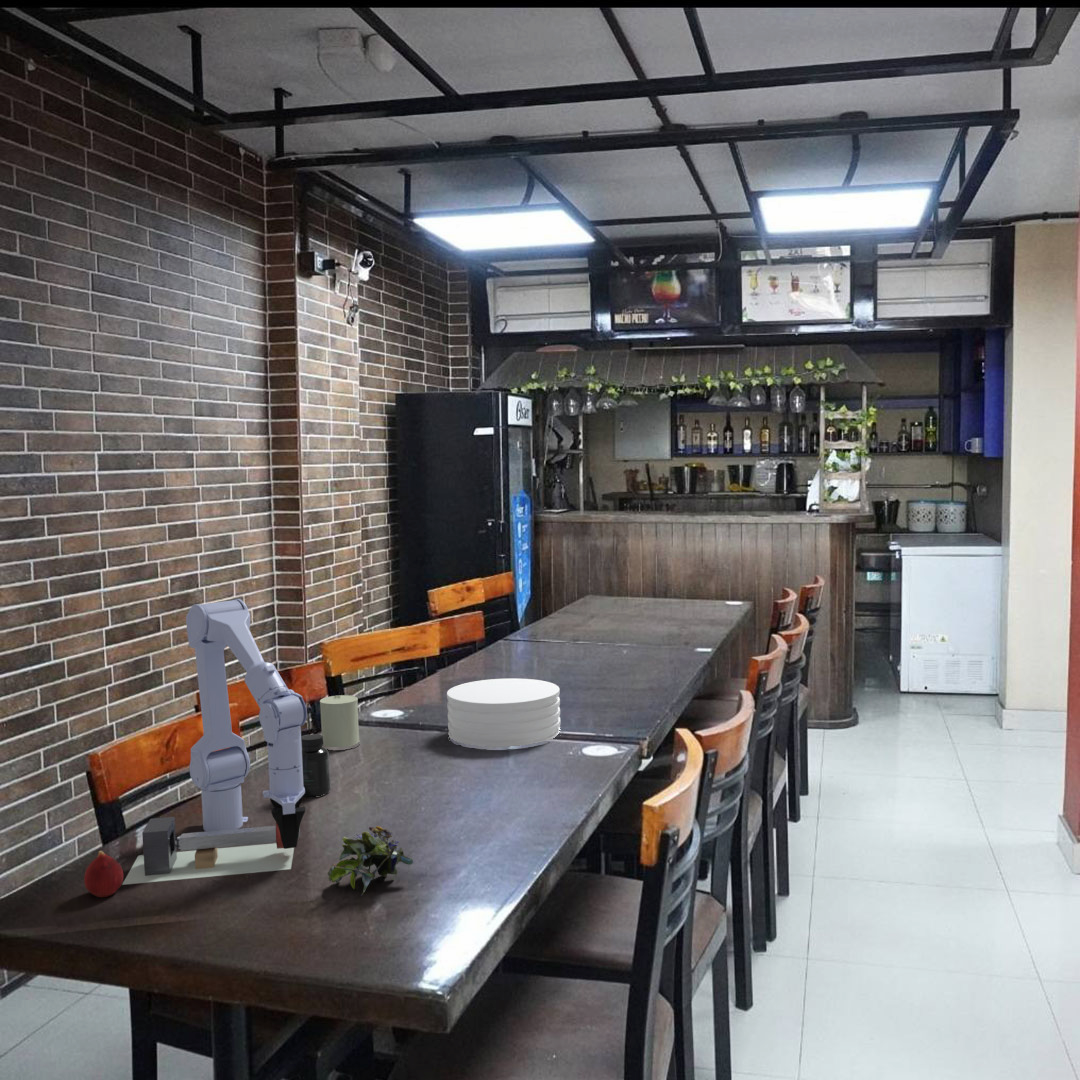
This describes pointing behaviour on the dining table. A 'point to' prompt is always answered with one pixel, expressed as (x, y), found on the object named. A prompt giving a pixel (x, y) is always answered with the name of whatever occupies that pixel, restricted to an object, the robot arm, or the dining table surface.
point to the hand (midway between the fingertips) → (289, 841)
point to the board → (219, 864)
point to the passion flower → (368, 857)
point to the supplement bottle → (315, 766)
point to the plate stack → (503, 712)
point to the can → (339, 720)
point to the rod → (230, 838)
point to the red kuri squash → (103, 876)
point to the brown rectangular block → (205, 858)
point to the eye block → (159, 846)
